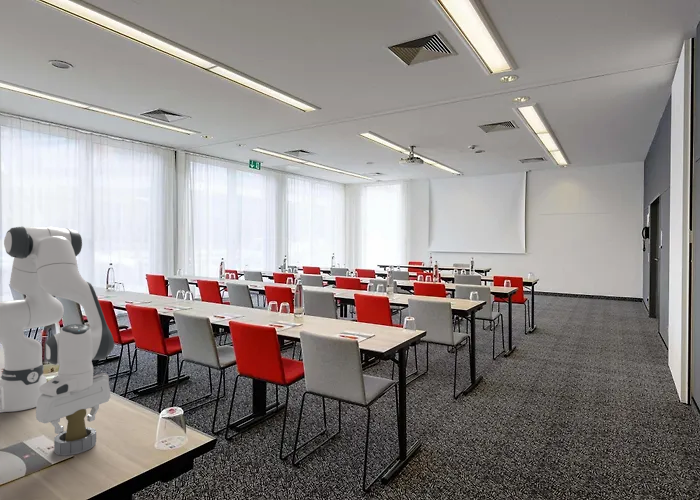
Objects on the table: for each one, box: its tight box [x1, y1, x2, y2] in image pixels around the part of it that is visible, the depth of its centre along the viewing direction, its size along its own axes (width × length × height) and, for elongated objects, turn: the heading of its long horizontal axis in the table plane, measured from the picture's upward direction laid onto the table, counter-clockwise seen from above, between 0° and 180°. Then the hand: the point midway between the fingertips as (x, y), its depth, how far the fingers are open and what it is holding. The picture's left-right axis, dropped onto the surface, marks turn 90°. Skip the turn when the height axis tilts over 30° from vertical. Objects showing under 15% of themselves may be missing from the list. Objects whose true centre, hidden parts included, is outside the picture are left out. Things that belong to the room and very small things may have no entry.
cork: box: [65, 409, 87, 441], centre depth 128 cm, size 6×6×11 cm
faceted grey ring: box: [53, 426, 97, 457], centre depth 128 cm, size 10×10×4 cm
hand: (75, 426), depth 128 cm, fingers open, 8 cm apart
